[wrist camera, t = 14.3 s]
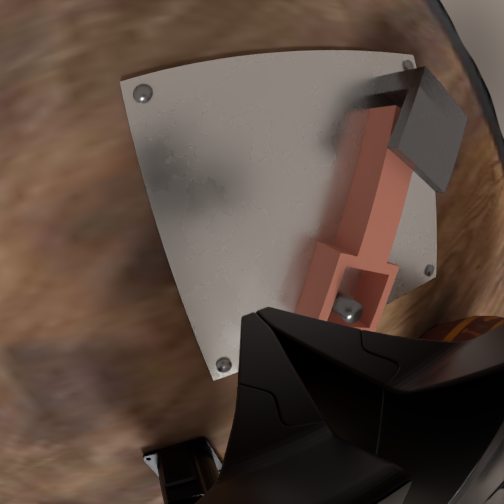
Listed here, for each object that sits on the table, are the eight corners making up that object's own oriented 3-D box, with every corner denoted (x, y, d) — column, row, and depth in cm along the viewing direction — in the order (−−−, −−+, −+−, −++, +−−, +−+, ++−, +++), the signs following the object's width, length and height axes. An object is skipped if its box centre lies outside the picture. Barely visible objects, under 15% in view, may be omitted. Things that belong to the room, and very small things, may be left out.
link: (352, 320, 26) (372, 337, 23) (293, 316, 24) (312, 335, 21) (407, 131, 23) (433, 131, 20) (354, 100, 21) (381, 95, 18)
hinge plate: (434, 275, 29) (437, 277, 29) (212, 378, 23) (214, 382, 23) (411, 55, 21) (414, 54, 21) (120, 82, 16) (119, 80, 15)
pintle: (329, 293, 24) (363, 318, 20) (313, 300, 24) (345, 327, 20) (327, 276, 24) (362, 299, 20) (310, 283, 23) (344, 308, 19)
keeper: (396, 184, 24) (444, 193, 19) (347, 147, 22) (397, 147, 17) (421, 118, 23) (467, 117, 19) (377, 76, 21) (425, 66, 16)
